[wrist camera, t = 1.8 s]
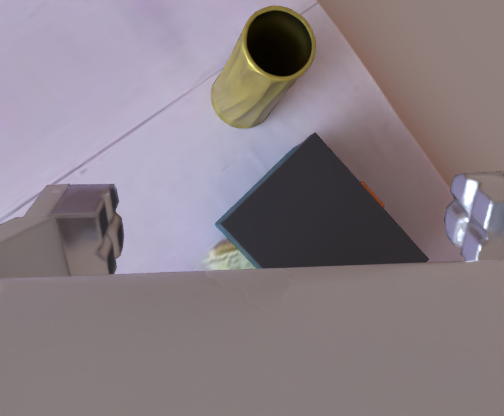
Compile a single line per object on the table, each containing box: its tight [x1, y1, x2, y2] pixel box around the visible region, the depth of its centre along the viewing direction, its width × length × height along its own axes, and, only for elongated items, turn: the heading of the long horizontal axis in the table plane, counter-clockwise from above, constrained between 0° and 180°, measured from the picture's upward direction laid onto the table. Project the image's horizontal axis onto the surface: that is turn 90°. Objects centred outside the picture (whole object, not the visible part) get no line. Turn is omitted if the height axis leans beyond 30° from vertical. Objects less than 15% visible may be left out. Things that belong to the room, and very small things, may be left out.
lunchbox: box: [215, 133, 429, 269], centre depth 44 cm, size 15×12×6 cm
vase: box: [211, 6, 316, 128], centre depth 39 cm, size 6×6×14 cm
